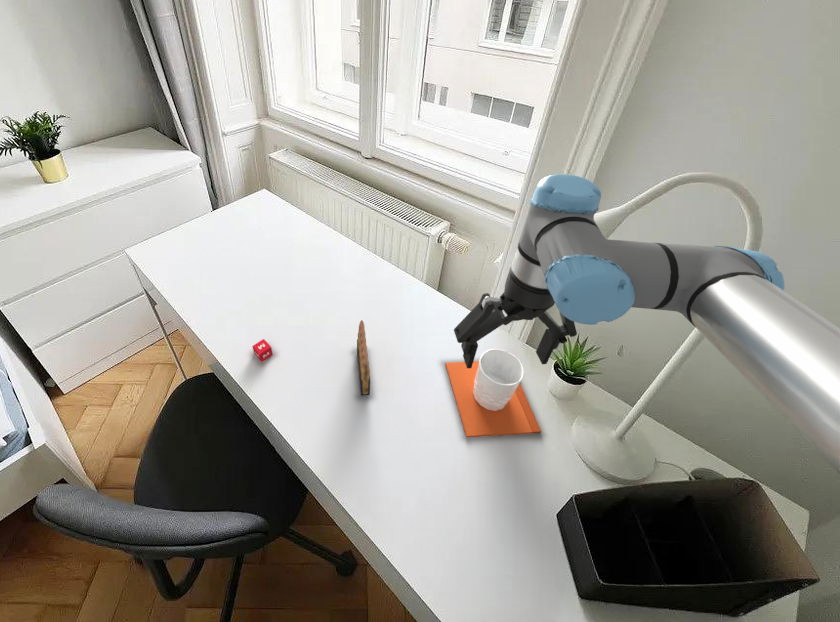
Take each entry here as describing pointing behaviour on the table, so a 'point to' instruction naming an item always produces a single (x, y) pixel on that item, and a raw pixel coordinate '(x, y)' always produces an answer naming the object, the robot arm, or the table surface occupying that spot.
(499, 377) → the white cup
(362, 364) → the ammunition clip
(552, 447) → the table surface
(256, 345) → the dice
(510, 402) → the folder
